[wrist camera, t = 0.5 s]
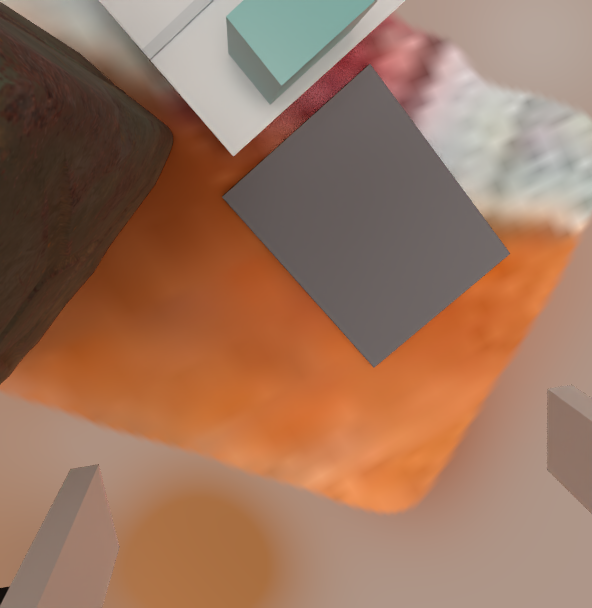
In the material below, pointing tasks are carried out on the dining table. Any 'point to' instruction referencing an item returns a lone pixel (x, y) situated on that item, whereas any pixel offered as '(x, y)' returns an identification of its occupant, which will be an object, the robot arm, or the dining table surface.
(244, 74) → the lid
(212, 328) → the dining table surface
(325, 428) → the dining table surface
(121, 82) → the dining table surface
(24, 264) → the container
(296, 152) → the mat
